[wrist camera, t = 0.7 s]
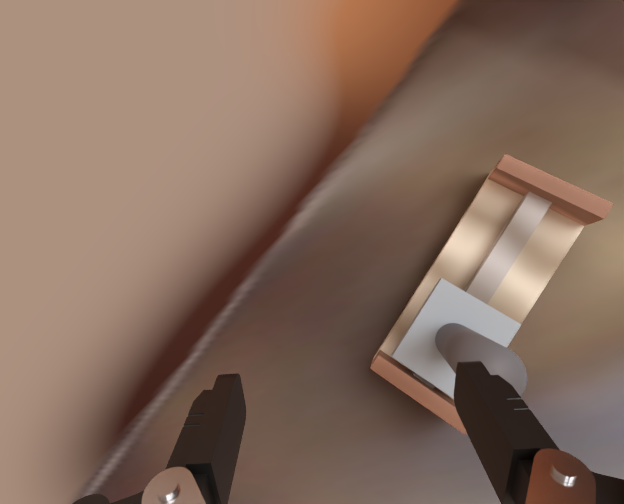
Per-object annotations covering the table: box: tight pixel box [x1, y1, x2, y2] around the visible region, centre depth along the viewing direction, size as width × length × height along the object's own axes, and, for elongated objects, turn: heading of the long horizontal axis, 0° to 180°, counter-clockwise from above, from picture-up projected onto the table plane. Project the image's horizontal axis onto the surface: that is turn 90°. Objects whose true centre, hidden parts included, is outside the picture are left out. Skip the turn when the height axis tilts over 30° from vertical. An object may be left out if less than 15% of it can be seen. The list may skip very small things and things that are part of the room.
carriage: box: [392, 278, 527, 398], centre depth 25 cm, size 8×7×15 cm
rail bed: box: [370, 154, 614, 434], centre depth 32 cm, size 22×9×5 cm, turn 147°
